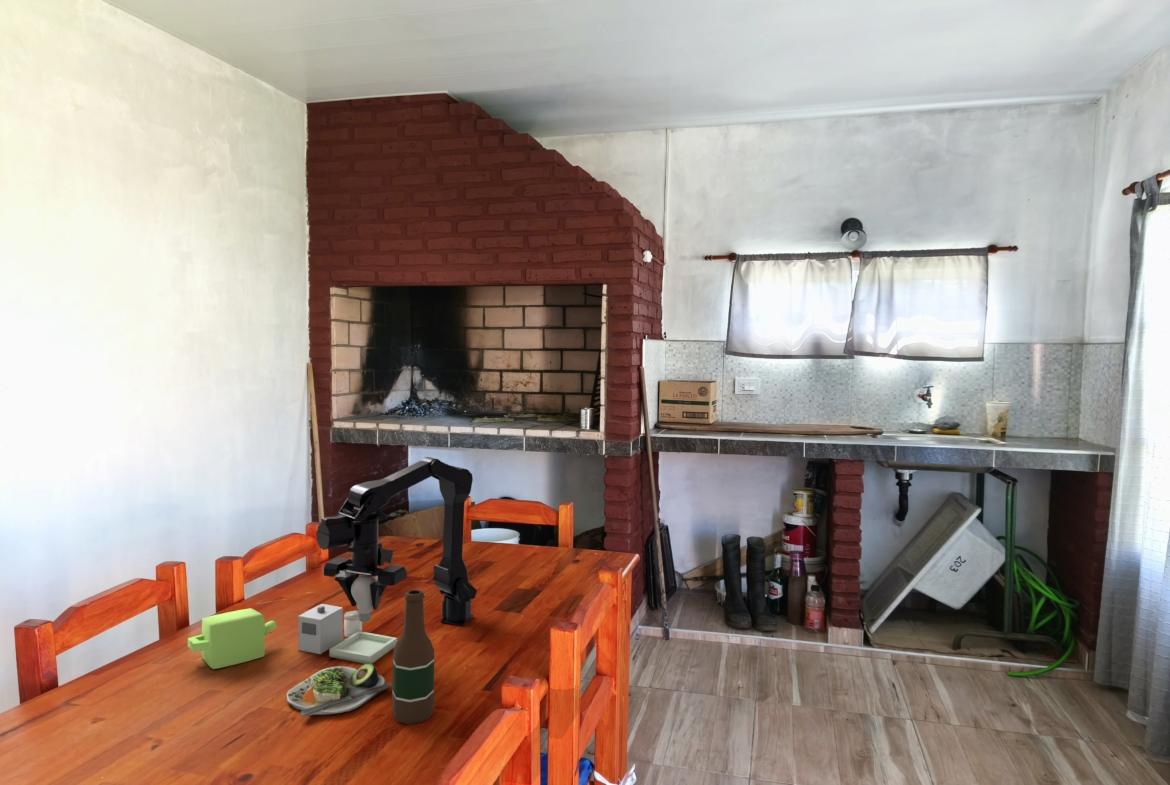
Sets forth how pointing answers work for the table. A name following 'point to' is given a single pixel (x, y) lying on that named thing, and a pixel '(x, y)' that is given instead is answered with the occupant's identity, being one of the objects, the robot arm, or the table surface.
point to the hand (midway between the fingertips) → (364, 607)
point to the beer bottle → (413, 666)
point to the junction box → (320, 628)
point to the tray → (363, 647)
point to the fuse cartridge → (352, 623)
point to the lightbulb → (363, 596)
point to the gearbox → (232, 638)
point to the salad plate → (337, 690)
